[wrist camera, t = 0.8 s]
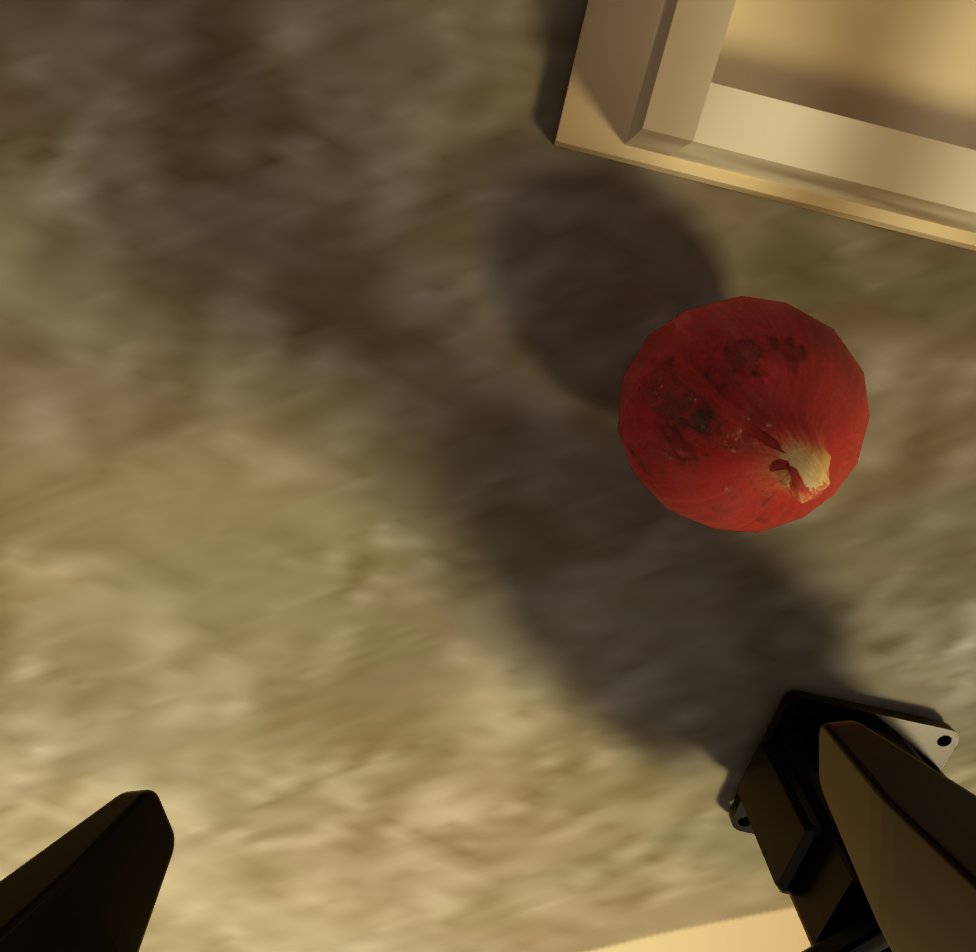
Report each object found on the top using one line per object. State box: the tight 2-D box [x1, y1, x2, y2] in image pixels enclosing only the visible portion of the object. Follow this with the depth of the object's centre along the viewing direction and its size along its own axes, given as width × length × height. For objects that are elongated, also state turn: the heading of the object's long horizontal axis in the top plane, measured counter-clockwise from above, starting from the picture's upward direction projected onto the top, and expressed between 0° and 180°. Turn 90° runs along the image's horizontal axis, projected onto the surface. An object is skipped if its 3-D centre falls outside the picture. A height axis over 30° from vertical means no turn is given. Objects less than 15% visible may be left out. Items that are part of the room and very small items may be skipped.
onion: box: [618, 296, 869, 533], centre depth 16 cm, size 6×6×8 cm
